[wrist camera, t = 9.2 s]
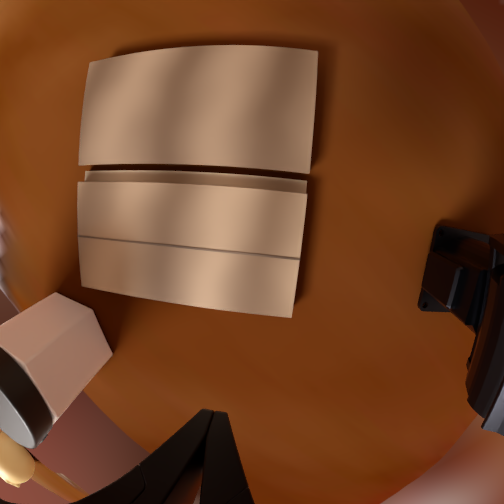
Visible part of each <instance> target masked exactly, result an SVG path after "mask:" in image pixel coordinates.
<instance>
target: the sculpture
mask: <svg viewBox="0 0 504 504" xmlns="http://www.w3.org/2000/svg"><path fill="white" fill-rule="evenodd" d="M34 469H35V462H34V460H33V458H32V456H31V455H30V453H29V452H28V451H27V449H26V448H25V447H24V446H22V445H20V444H18V443H17V442H15V441H14V440H13V439H11V438H10V437H9V436H8V435H7V434H5V433H4V432H0V477H1V478H2V479H4V480H5V481H6V482H7V483H10V484H12V485H14V486H16V487H20V484H21V483H24V482H26V481H27V480H29V479H30V478H31V476H32V475H33V473H34Z"/></svg>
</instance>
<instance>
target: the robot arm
mask: <svg viewBox="0 0 504 504" xmlns="http://www.w3.org/2000/svg"><path fill="white" fill-rule="evenodd" d="M440 230H441V231H442V233H441V235H439V231H440ZM421 286H422V289H421V293H420V297H419V301H418V308H419V309H420V310H421V311H431V312H451V313H452V314H454V315H455V316H456V317H457V318H458V319H459V320H460V321H461V322H463V323H464V324H465V325H466V326H467V327H468V328H469V329H470V330H471V331H473V332H474V333H475V334H476V337H475V340H474V344H473V348H472V352H471V355H470V357H469V358H468V361H467V364H466V366H467V369H468V373H467V378H466V388H467V393H468V395H469V396H468V399H467V401H468V403H469V404H470V406H471V407H472V408H473V410H474V411H476V412H477V413H478V414H479V415H480V416H481V417H483V418H485V419H484V421H483V423H482V425H481V428H482V429H484V430H489V431H493V432H497V433H499V434H501V435H503V436H504V234H495V235H486V234H482V233H477V232H472V231H467V230H462V229H457V228H452V227H447V226H441V225H438V226H436V227H435V229H434V232H433V238H432V243H431V249H430V253H429V254H428V258H427V263H426V268H425V272H424V276H423V281H422V285H421ZM424 302H426V304H425V305H424V306H422V305H423V303H424ZM201 482H202V483H201ZM200 484H201V495H200V504H255V503H254V501H253V498H252V495H251V492H250V489H249V488H248V487H249V486H248V483H247V480H246V477H245V473H244V470H243V467H242V464H241V460H240V457H239V453H238V450H237V446H236V443H235V439H234V436H233V432H232V429H231V425H230V421H229V418H228V414H227V413H226V412H221V411H215V412H214V411H213V410H208V409H202V410H200V411H199V412H198V413H197V414H196V415H195V416H194V417H193V418H192V419H191V420H189V421H188V422H187V423H186V424H185V425H184V426H183V427H182V428H181V429H179V430H178V431H177V432H176V433H175V434H174V435H173V436H171V437H170V438H169V439H168V440H167V441H166V442H164V443H163V444H162V445H161V446H160V447H159V448H157V449H156V450H155V451H154V452H153V453H151V454H150V455H149V456H148V457H147V458H145V459H144V460H143V461H142V462H141V463H139V465H137V466H135V467H134V468H133V469H132V470H130V471H129V472H128V473H126V474H125V475H124V476H122V477H121V478H119V479H118V480H116V481H115V482H113V483H111V484H110V485H108V486H106V487H104V488H102V489H101V490H98V491H97V492H95V493H93V494H91V495H89V496H87V497H85V498H83V499H81V500H79V501H76V502H73V503H70V504H193V503H194V500H195V498H196V495H197V492H198V490H199V487H200ZM0 504H16V503H10V502H7V501H4V500H2V499H0Z"/></svg>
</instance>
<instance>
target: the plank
mask: <svg viewBox="0 0 504 504" xmlns="http://www.w3.org/2000/svg"><path fill="white" fill-rule="evenodd" d="M317 65H318V51H313V50H305V49H296V48H286V47H273V46H254V45H211V46H192V47H179V48H169V49H160V50H152V51H145V52H139V53H133V54H127V55H122V56H117V57H112V58H107V59H103V60H99V61H94V62H90V64H89V70H88V75H87V81H86V88H85V94H84V102H83V110H82V120H81V131H80V146H79V165H99V164H192V165H214V166H231V167H246V168H258V169H269V170H280V171H289V172H298V173H307V174H309V173H310V162H311V152H312V140H313V128H314V115H315V100H316V84H317Z"/></svg>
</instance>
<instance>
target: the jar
mask: <svg viewBox="0 0 504 504" xmlns="http://www.w3.org/2000/svg"><path fill="white" fill-rule="evenodd" d="M111 357H112V351H111V349H110V347H109V345H108V343H107V341H106V339H105V336H104V334H103V332H102V330H101V328H100V325H99V323H98V321H97V318H96V316H95V314H94V311H93V310H92V309H91V308H88V307H86V306H84V305H82V304H80V303H77V302H75V301H73V300H71V299H69V298H67V297H65V296H63V295H61V294H59V293H57V292H55V293H53V294H51V295H50V296H48V297H46V298H45V299H43V300H41V301H39V302H38V303H36V304H34V305H33V306H31V307H29V308H28V309H26V310H24V311H23V312H21V313H20V314H18V315H16V316H15V317H13V318H12V319H10V320H9V321H7V322H5V323H4V324H2V325H1V326H0V429H1V430H2V431H3V432H4V433H5V434H7V435H8V436H9V437H10V438H11V439H13V440H14V441H15V442H17V443H18V444H20V445H22V446H24V447H27V448H29V449H34V448H36V447H37V446H38V445H39V444H40V443H41V442H43V440H44V439H45V438H46V436H47V434H48V432H49V431H50V430H51V429H52V426H53V424H54V423H55V422H56V420H57V419H58V418H59V417H60V416H61V415H62V413H63V412H64V411H65V410H66V408H67V407H68V406H69V405H70V404H71V403H72V401H73V400H74V399H75V398H76V397H77V396H78V394H79V393H80V392H81V391H82V390H83V389H84V387H85V386H86V385H87V384H88V383H89V382H90V380H91V379H92V378H93V377H94V376H95V375H96V374H97V372H98V371H99V370H100V369H101V368H102V367H103V366H104V364H105V363H106V362H107V361H108V360H109V359H110V358H111Z"/></svg>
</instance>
